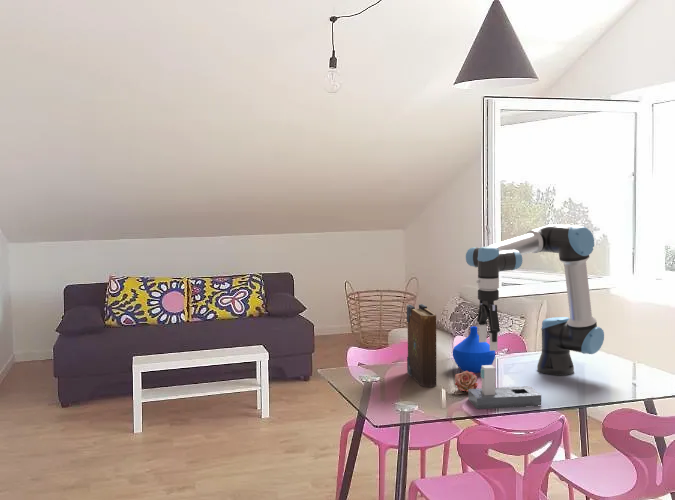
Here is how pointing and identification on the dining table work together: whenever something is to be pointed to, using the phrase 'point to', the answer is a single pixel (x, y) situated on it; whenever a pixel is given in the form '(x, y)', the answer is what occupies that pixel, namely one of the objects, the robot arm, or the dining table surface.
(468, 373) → the flower
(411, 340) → the decorative book
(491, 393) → the plug
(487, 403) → the panel
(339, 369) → the dining table surface
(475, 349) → the vase
